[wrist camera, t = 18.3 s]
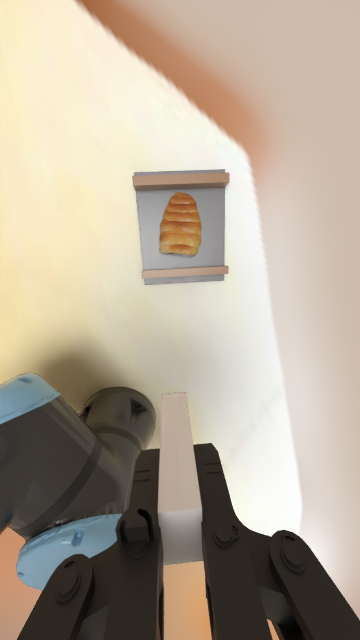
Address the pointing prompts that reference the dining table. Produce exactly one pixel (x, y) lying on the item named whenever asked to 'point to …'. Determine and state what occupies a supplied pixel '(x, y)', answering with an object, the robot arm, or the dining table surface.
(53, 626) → the robot arm
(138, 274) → the dining table surface
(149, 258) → the pastry holder
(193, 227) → the pastry
